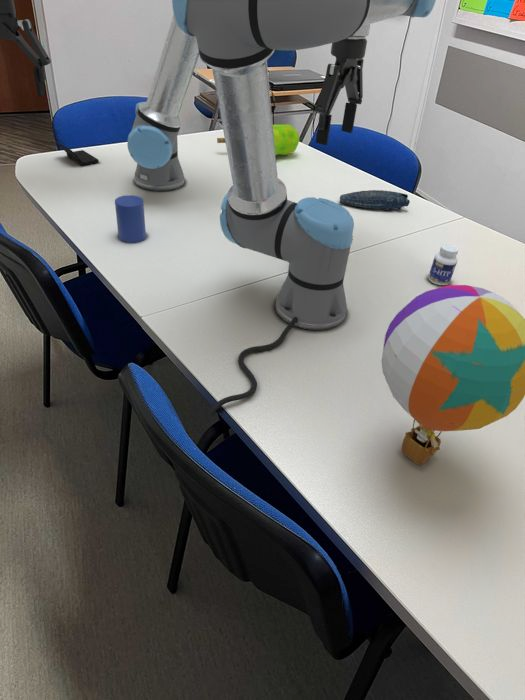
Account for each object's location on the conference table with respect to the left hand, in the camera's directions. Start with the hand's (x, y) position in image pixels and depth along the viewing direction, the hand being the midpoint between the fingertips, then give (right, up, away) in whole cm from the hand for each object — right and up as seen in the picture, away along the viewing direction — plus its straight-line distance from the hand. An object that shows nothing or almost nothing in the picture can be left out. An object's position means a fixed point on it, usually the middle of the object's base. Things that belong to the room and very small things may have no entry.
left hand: (14, 92), depth 133 cm
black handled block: (+2, -3, +39) cm, 39 cm away
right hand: (+81, -15, -7) cm, 83 cm away
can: (+30, -37, 0) cm, 48 cm away
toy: (+88, -83, -50) cm, 131 cm away
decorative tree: (+62, +5, +57) cm, 84 cm away
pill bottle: (+107, -49, -6) cm, 118 cm away
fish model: (+98, -22, +27) cm, 104 cm away
